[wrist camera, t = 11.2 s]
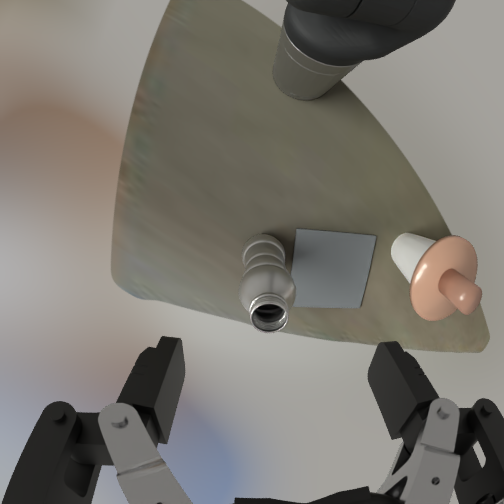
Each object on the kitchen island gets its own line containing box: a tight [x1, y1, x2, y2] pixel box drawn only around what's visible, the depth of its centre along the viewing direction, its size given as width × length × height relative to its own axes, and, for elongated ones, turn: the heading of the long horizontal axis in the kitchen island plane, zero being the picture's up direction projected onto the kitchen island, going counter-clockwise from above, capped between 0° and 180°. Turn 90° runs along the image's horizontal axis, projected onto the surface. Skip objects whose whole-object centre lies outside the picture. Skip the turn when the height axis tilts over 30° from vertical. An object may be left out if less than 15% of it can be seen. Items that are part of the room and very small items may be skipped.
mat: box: [291, 228, 376, 308], centre depth 45 cm, size 14×14×1 cm
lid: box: [410, 235, 482, 321], centre depth 29 cm, size 13×13×7 cm
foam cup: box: [391, 233, 436, 283], centre depth 38 cm, size 10×9×13 cm
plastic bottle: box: [239, 234, 297, 333], centre depth 35 cm, size 6×7×20 cm
